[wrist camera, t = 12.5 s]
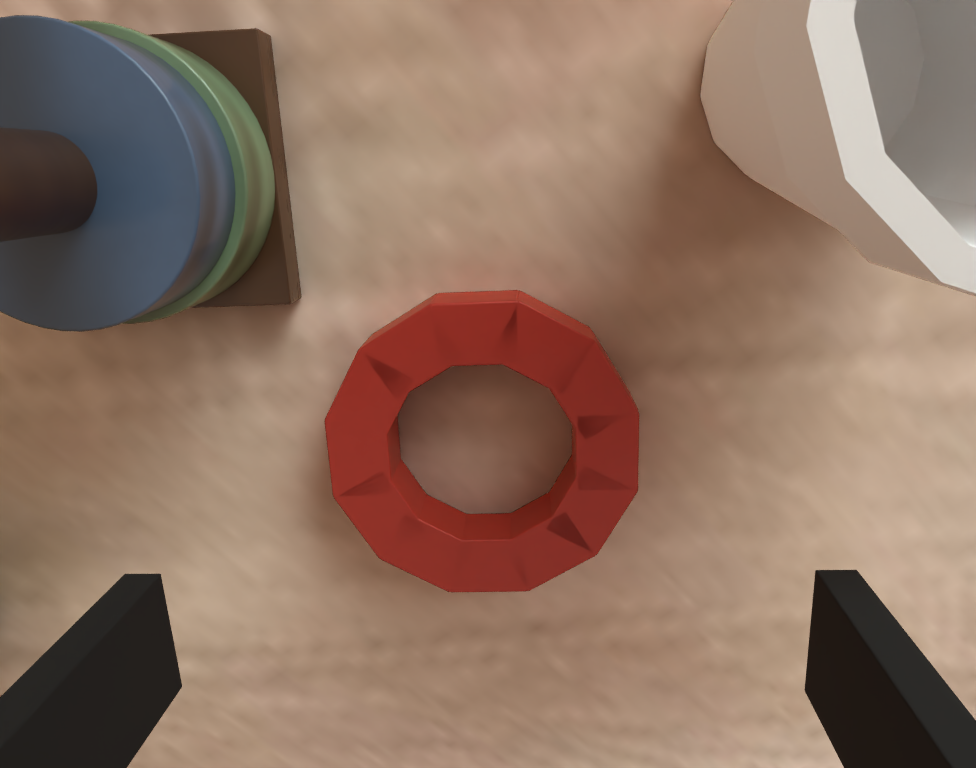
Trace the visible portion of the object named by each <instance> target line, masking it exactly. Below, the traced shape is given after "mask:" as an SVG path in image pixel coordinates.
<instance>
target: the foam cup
mask: <svg viewBox="0 0 976 768" xmlns="http://www.w3.org/2000/svg"><path fill="white" fill-rule="evenodd" d="M700 97H701V101H702V104H703V108H704V111H705V114H706V118H707V121H708V124H709V128H710V131H711V134H712V138H713V141H714V143H715V144H716V145H717V146H718V147H719V148H720V149H721V150H722V151H723V152H724V153H725V154H726V155H727V156H728V157H729V158H730V159H731V160H732V161H733V162H734V163H735V164H736V165H737V167H738V168H739V169H740V170H741V171H742V172H743V173H744V174H745V175H747V176H748V177H749V178H751V179H753V180H754V181H756V182H758V183H759V184H761V185H763V186H764V187H766V188H768V189H770V190H771V191H773V192H775V193H776V194H778V195H780V196H781V197H783V198H785V199H786V200H788V201H790V202H792V203H793V204H795V205H797V206H798V207H800V208H802V209H803V210H805V211H807V212H808V213H810V214H812V215H814V216H815V217H817V218H819V219H820V220H822V221H824V222H825V223H827V224H829V225H830V226H832V227H834V228H836V229H837V230H838V231H839V232H840V233H841V234H842V235H843V236H844V237H845V238H846V239H847V240H848V241H849V242H850V243H851V244H852V245H853V246H854V247H855V248H856V249H857V251H858V252H859V253H860V254H861V255H862V256H863V257H864V258H865V259H866V260H867V261H868V262H870V263H873V264H876V265H879V266H882V267H886V268H889V269H892V270H895V271H898V272H901V273H904V274H907V275H911V276H914V277H917V278H920V279H923V280H926V281H929V282H932V283H936V284H939V285H942V286H945V287H948V288H951V289H954V290H957V291H961V292H964V293H967V294H970V295H973V296H976V0H734V1H733V2H732V4H731V6H730V7H729V9H728V10H727V12H726V14H725V15H724V17H723V19H722V20H721V22H720V24H719V25H718V27H717V29H716V30H715V32H714V34H713V35H712V37H711V39H710V41H709V43H708V45H707V51H706V58H705V65H704V72H703V79H702V86H701V93H700Z"/></svg>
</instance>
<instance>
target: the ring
mask: <svg viewBox="0 0 976 768" xmlns="http://www.w3.org/2000/svg"><path fill="white" fill-rule="evenodd" d="M471 365H505V366H507V367H509V368H511V369H512V370H514V371H516V372H518V373H520V374H522V375H524V376H526V377H528V378H530V379H532V380H534V381H536V382H538V383H540V384H542V385H543V386H545V387H547V388H549V389H550V391H551V392H552V394H553V395H554V397H555V398H556V400H557V401H558V403H559V405H560V406H561V408H562V409H563V411H564V412H565V414H566V416H567V417H568V419H569V420H570V422H571V423H572V455H571V457H570V459H569V460H568V462H567V464H566V465H565V467H564V469H563V470H562V472H561V474H560V475H559V477H558V479H557V480H556V482H555V484H554V485H553V487H552V489H551V490H550V492H548V493H547V494H545V495H543V496H541V497H539V498H538V499H536V500H534V501H532V502H530V503H529V504H527V505H525V506H523V507H521V508H520V509H518V510H516V511H514V512H512V513H496V514H465V513H463V512H461V511H459V510H457V509H455V508H453V507H451V506H449V505H447V504H445V503H443V502H441V501H439V500H437V499H435V498H433V497H431V496H429V495H427V494H426V493H425V492H424V490H423V489H422V488H421V486H420V485H419V483H418V482H417V481H416V479H415V478H414V476H413V475H412V473H411V472H410V471H409V469H408V468H407V466H406V465H405V464H404V462H403V461H402V459H401V453H400V442H399V430H398V418H397V415H398V413H399V411H400V409H401V407H402V405H403V403H404V401H405V399H406V397H407V396H408V394H409V392H410V391H412V390H414V389H415V388H417V387H419V386H420V385H422V384H424V383H425V382H427V381H428V380H430V379H432V378H433V377H435V376H437V375H438V374H440V373H442V372H443V371H445V370H446V369H448V368H450V367H451V366H471ZM325 429H326V438H327V447H328V456H329V465H330V473H331V482H332V491H333V497H334V499H335V500H336V501H337V503H338V504H339V505H340V507H341V508H342V509H343V511H344V512H345V513H346V515H347V516H348V517H349V519H350V520H351V521H352V523H353V524H354V525H355V527H356V528H357V529H358V531H359V532H360V533H361V535H362V536H363V537H364V539H365V540H366V541H367V543H368V544H369V545H370V547H371V548H372V549H373V551H374V552H375V553H376V555H377V556H378V557H379V558H380V559H381V560H383V561H385V562H387V563H389V564H392V565H394V566H396V567H398V568H400V569H402V570H404V571H406V572H408V573H410V574H412V575H414V576H417V577H419V578H421V579H423V580H425V581H427V582H429V583H431V584H433V585H435V586H437V587H439V588H442V589H444V590H446V591H448V592H509V591H530V590H531V589H533V588H535V587H537V586H539V585H541V584H543V583H545V582H547V581H548V580H550V579H552V578H554V577H556V576H558V575H560V574H562V573H564V572H565V571H567V570H569V569H571V568H573V567H575V566H577V565H579V564H581V563H583V562H584V561H586V560H588V559H590V558H592V557H594V556H595V555H597V554H598V552H599V551H600V549H601V548H602V546H603V544H604V543H605V541H606V540H607V538H608V537H609V535H610V534H611V532H612V530H613V529H614V527H615V526H616V524H617V523H618V521H619V520H620V518H621V516H622V515H623V513H624V512H625V510H626V509H627V507H628V505H629V504H630V502H631V501H632V499H633V498H634V496H635V495H636V493H637V491H638V462H639V412H638V409H637V406H636V404H635V402H634V400H633V398H632V396H631V394H630V392H629V390H628V388H627V387H626V385H625V383H624V382H623V380H622V379H621V377H620V375H619V374H618V372H617V370H616V369H615V367H614V365H613V364H612V362H611V361H610V359H609V357H608V356H607V354H606V352H605V351H604V349H603V347H602V346H601V344H600V342H599V341H598V339H597V338H596V336H595V334H594V333H593V331H592V330H591V329H590V327H588V326H586V325H584V324H582V323H581V322H579V321H577V320H575V319H573V318H571V317H569V316H567V315H565V314H563V313H562V312H560V311H558V310H556V309H554V308H552V307H550V306H548V305H546V304H545V303H543V302H541V301H539V300H537V299H535V298H533V297H531V296H529V295H527V294H526V293H524V292H522V291H517V290H509V291H481V292H454V293H438V294H435V295H433V296H432V297H430V298H429V299H427V300H425V301H424V302H422V303H421V304H419V305H418V306H416V307H414V308H413V309H411V310H410V311H408V312H407V313H405V314H403V315H402V316H400V317H399V318H397V319H396V320H394V321H393V322H391V323H389V324H388V325H386V326H385V327H383V328H382V329H380V330H378V331H377V332H375V333H374V334H372V335H371V336H370V337H369V339H368V340H367V341H366V342H365V343H364V344H363V345H362V346H361V347H360V349H359V350H358V352H357V354H356V356H355V358H354V360H353V362H352V364H351V366H350V368H349V370H348V372H347V374H346V377H345V379H344V381H343V383H342V385H341V387H340V389H339V391H338V393H337V395H336V397H335V399H334V401H333V404H332V406H331V408H330V410H329V412H328V414H327V416H326V418H325Z"/></svg>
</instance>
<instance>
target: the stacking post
mask: <svg viewBox="0 0 976 768" xmlns="http://www.w3.org/2000/svg"><path fill="white" fill-rule="evenodd" d="M300 298H301V290H300V281H299V273H298V264H297V256H296V247H295V239H294V230H293V222H292V213H291V205H290V196H289V188H288V179H287V171H286V162H285V154H284V145H283V137H282V128H281V120H280V111H279V103H278V94H277V86H276V77H275V69H274V60H273V52H272V43H271V36H270V35H268V34H266V33H264V32H262V31H261V30H259V29H256V28H254V29H237V30H220V31H203V32H186V33H169V34H152V35H147V34H144V33H141V32H138V31H135V30H132V29H129V28H125V27H122V26H119V25H115V24H110V23H104V22H97V21H70V22H66V21H63V20H59V19H55V18H48V17H42V16H27V15H15V16H8V17H1V18H0V311H1V312H3V313H4V314H6V315H8V316H11V317H13V318H15V319H18V320H20V321H23V322H25V323H29V324H32V325H36V326H39V327H42V328H47V329H54V330H60V331H79V332H82V331H92V330H100V329H104V328H108V327H112V326H116V325H119V324H121V323H123V324H134V323H143V322H150V321H154V320H159V319H163V318H166V317H169V316H171V315H174V314H176V313H178V312H181V311H183V310H186V309H188V308H198V307H225V306H252V305H280V304H291V303H293V302H295V301H296V300H298V299H300Z"/></svg>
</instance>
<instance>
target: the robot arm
mask: <svg viewBox="0 0 976 768" xmlns="http://www.w3.org/2000/svg"><path fill="white" fill-rule="evenodd" d="M181 687H182V683H181V678H180V673H179V667H178V662H177V657H176V652H175V646H174V641H173V636H172V631H171V626H170V620H169V615H168V610H167V605H166V599H165V594H164V589H163V584H162V579H161V574H125V575H123V576H122V577H121V578H120V579H119V580H118V581H117V582H116V583H115V584H114V585H113V586H112V587H111V588H110V589H109V590H108V591H107V592H106V593H105V594H104V595H103V596H102V597H101V598H100V599H99V600H98V601H97V602H96V603H95V604H94V605H93V606H92V607H91V608H90V609H89V610H88V611H87V612H86V613H85V614H84V615H83V616H82V617H81V618H80V619H79V620H78V621H77V622H76V623H75V624H74V625H73V626H72V627H71V628H70V629H69V630H68V631H67V632H66V633H65V634H64V635H63V636H62V637H61V638H60V639H59V640H58V641H57V642H56V643H55V644H54V645H53V646H52V647H51V648H50V649H49V650H48V651H47V652H46V653H44V654H43V655H42V656H41V657H40V658H39V659H38V660H37V661H36V662H35V663H34V664H33V665H32V666H31V667H30V668H29V669H28V670H27V671H26V672H25V673H24V674H23V675H22V676H21V677H20V678H19V679H18V680H17V681H16V682H15V683H14V684H13V685H12V686H11V687H10V688H9V689H8V690H7V691H6V692H5V693H4V694H3V695H2V696H1V697H0V768H127V766H128V765H129V763H130V762H131V761H132V759H133V758H134V756H135V755H136V753H137V752H138V750H139V749H140V747H141V746H142V744H143V743H144V742H145V740H146V739H147V737H148V736H149V734H150V733H151V731H152V730H153V728H154V727H155V725H156V724H157V723H158V721H159V720H160V718H161V717H162V715H163V714H164V712H165V711H166V709H167V708H168V706H169V705H170V704H171V702H172V701H173V699H174V698H175V696H176V695H177V693H178V692H179V690H180V689H181ZM805 692H806V694H807V696H808V698H809V700H810V702H811V704H812V706H813V708H814V710H815V712H816V714H817V716H818V718H819V719H820V721H821V723H822V725H823V727H824V729H825V731H826V733H827V735H828V737H829V739H830V741H831V743H832V745H833V747H834V749H835V751H836V753H837V755H838V757H839V759H840V761H841V763H842V765H843V766H844V768H976V720H975V719H974V718H973V716H972V715H971V714H970V713H969V711H968V710H967V709H966V708H965V706H964V705H963V704H962V703H961V701H960V700H959V699H958V697H957V696H956V695H955V694H954V692H953V691H952V690H951V689H950V687H949V686H948V685H947V684H946V682H945V681H944V680H943V679H942V677H941V676H940V675H939V673H938V672H937V671H936V670H935V668H934V667H933V666H932V665H931V663H930V662H929V661H928V660H927V658H926V657H925V656H924V655H923V653H922V652H921V651H920V649H919V648H918V647H917V646H916V644H915V643H914V642H913V641H912V639H911V638H910V637H909V636H908V634H907V633H906V632H905V631H904V629H903V628H902V627H901V625H900V624H899V623H898V622H897V620H896V619H895V618H894V617H893V615H892V614H891V613H890V612H889V610H888V609H887V608H886V607H885V605H884V604H883V603H882V601H881V600H880V599H879V598H878V596H877V595H876V594H875V593H874V591H873V590H872V589H871V588H870V586H869V585H868V584H867V583H866V581H865V580H864V579H863V577H862V576H861V575H860V574H859V572H858V571H857V570H816V571H815V582H814V593H813V604H812V615H811V626H810V637H809V648H808V659H807V670H806V681H805Z"/></svg>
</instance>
